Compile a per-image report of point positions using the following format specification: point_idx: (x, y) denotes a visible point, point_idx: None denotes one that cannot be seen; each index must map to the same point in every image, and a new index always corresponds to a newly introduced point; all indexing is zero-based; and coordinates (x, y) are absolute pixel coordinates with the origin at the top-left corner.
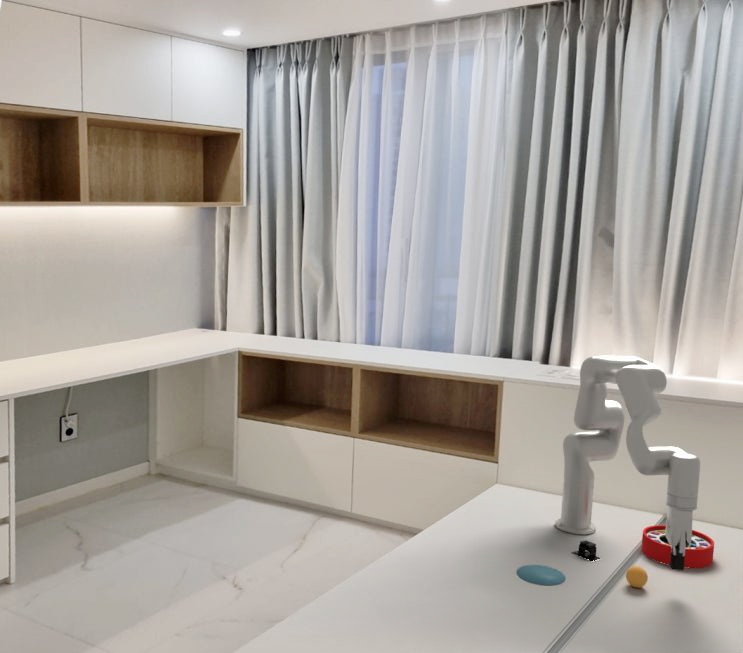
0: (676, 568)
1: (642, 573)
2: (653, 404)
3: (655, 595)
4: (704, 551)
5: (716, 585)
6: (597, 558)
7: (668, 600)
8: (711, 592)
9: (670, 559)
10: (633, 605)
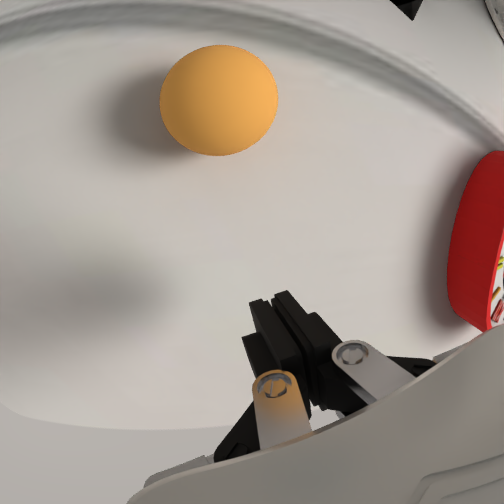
0: (257, 331)
1: (185, 124)
2: None
3: (160, 202)
4: (483, 329)
5: None
6: (402, 3)
7: (140, 258)
8: None
9: (299, 313)
10: (19, 143)
